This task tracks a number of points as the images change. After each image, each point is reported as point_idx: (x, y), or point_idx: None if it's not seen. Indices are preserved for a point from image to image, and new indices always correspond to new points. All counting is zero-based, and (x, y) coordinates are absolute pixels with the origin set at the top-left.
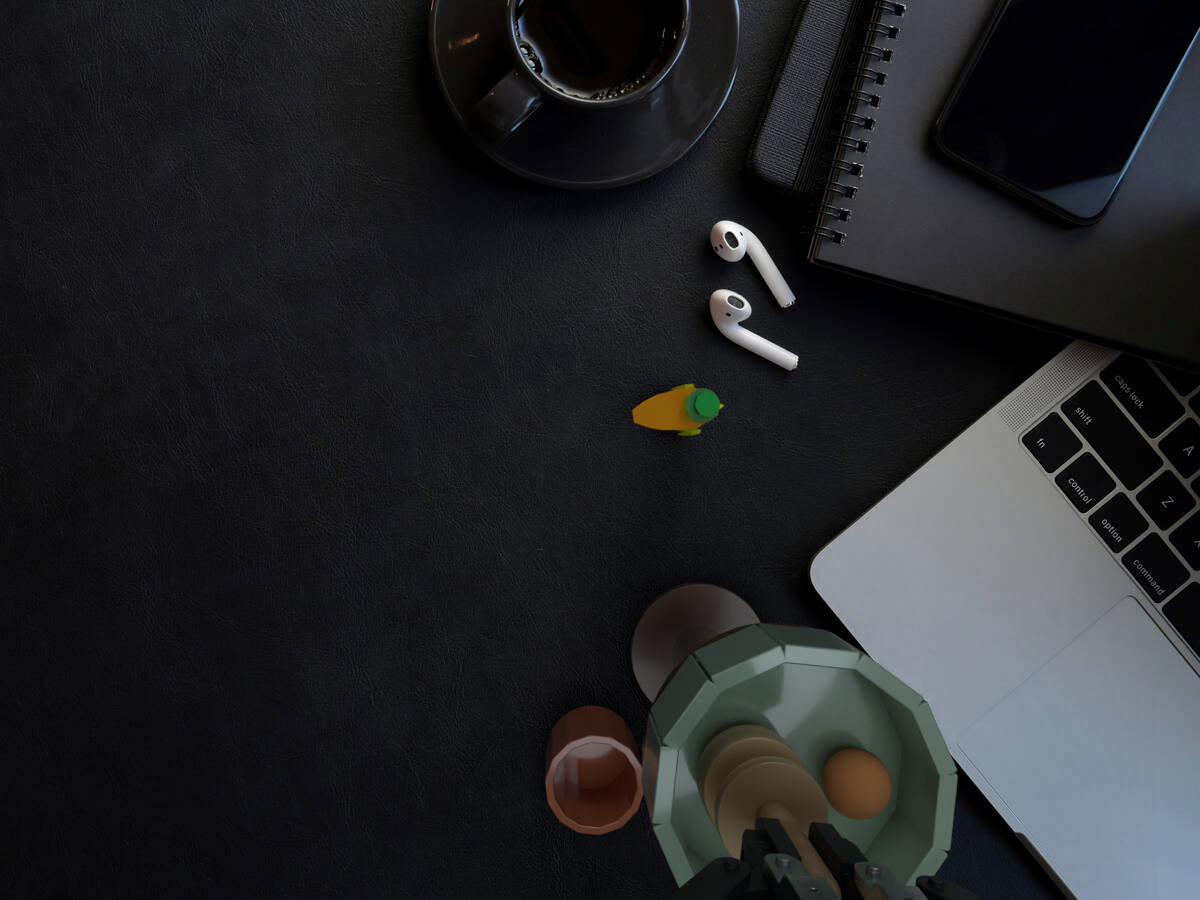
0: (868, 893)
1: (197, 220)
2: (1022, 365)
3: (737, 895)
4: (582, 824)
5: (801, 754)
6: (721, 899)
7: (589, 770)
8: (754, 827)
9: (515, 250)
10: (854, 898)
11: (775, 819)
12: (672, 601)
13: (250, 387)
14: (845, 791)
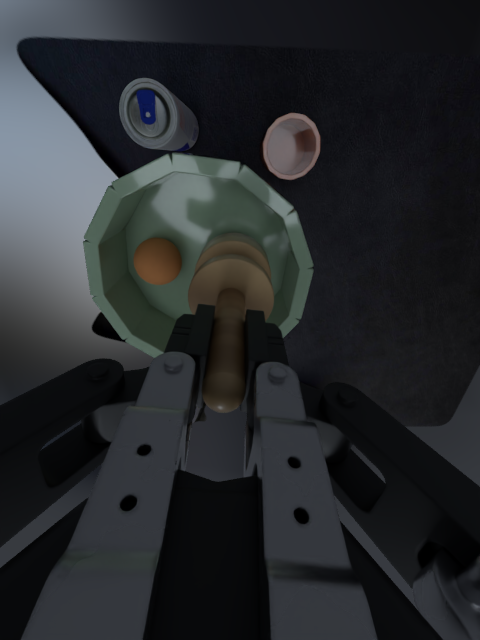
0: (185, 467)
1: (408, 373)
2: (93, 325)
3: (336, 484)
4: (301, 119)
5: (194, 266)
6: (376, 545)
7: (285, 136)
8: (245, 294)
9: (295, 364)
10: (192, 413)
11: None
12: None
13: (407, 321)
14: (167, 269)
